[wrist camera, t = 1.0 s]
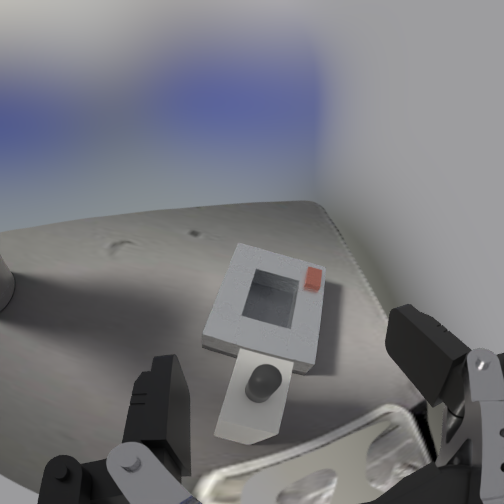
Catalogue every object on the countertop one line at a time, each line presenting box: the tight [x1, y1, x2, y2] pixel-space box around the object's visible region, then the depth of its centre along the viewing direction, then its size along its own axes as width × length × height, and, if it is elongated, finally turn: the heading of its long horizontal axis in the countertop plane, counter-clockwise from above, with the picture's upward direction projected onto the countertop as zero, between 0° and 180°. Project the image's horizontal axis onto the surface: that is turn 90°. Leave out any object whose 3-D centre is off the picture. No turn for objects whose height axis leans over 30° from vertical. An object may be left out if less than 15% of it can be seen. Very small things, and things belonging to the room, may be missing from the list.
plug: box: [214, 348, 294, 445], centre depth 21 cm, size 4×6×17 cm
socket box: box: [202, 243, 326, 375], centre depth 36 cm, size 13×15×5 cm
